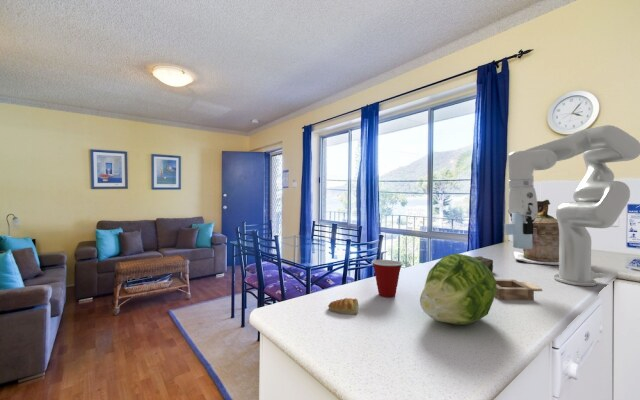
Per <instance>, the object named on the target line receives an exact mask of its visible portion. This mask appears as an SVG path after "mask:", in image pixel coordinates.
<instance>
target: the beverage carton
mask: <svg viewBox="0 0 640 400" xmlns="http://www.w3.org/2000/svg"><path fill="white" fill-rule="evenodd" d="M473 257H474V258H476V259H477V260H479V261H481V262H483V263H484V264H485V265H486V266H487V267H488V268H489V270H490V271H491V272H492V273H493V272H494V271H493V270H494V260H493V259H490V258H486V257H484V256H480V255H479V256H473Z"/></svg>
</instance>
